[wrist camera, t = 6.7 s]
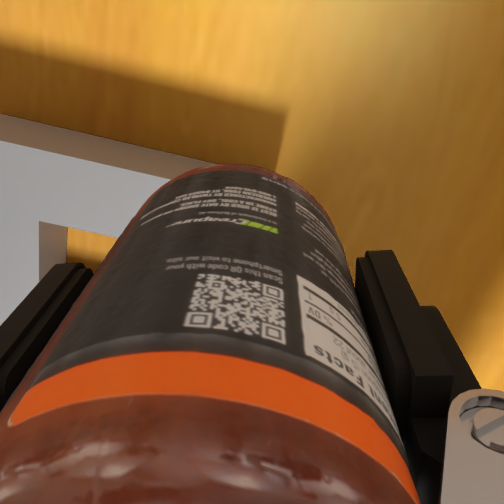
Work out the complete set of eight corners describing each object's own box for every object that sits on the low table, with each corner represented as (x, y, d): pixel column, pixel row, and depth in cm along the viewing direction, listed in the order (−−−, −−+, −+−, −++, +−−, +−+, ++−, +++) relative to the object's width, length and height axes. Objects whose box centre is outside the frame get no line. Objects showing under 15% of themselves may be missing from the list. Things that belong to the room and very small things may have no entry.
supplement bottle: (182, 361, 15) (-24, 1114, 5) (92, 196, 12) (-791, 1070, 2) (364, 315, 13) (622, 1189, 3) (308, 122, 11) (669, 1309, 1)
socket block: (274, 177, 27) (273, 203, 23) (222, 373, 34) (216, 415, 31) (-1, 113, 26) (-44, 130, 22) (9, 330, 33) (-23, 369, 30)
